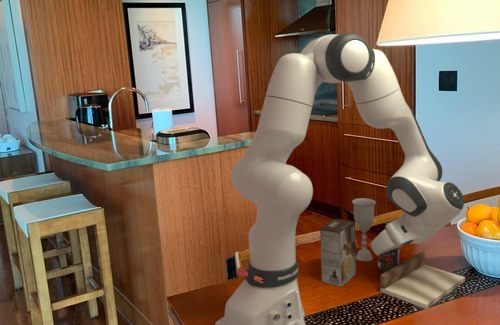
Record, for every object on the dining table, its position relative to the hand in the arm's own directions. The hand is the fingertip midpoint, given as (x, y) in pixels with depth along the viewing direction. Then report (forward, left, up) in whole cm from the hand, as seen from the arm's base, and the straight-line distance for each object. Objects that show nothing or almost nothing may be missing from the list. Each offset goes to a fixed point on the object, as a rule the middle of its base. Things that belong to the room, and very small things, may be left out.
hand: (387, 249), depth 140 cm
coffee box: (-14, +6, -6) cm, 17 cm away
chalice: (+2, +9, -6) cm, 11 cm away
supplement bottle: (0, -1, -6) cm, 6 cm away
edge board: (-3, -13, -6) cm, 15 cm away
